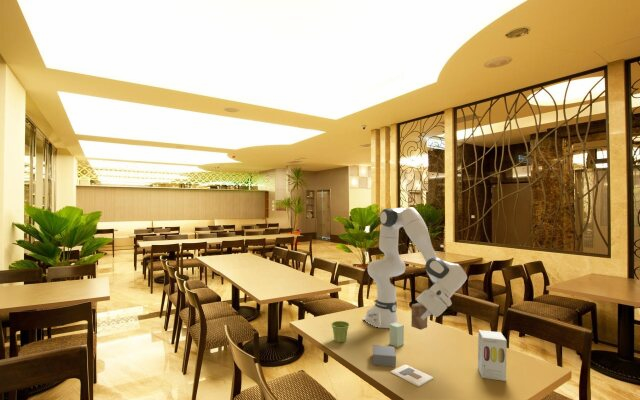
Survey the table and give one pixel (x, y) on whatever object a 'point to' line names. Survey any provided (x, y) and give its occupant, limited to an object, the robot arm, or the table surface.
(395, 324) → the sage block
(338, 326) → the plant pot
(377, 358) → the charcoal base block
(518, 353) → the table surface
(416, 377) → the card
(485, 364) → the supplement box
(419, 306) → the walnut block
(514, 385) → the table surface
